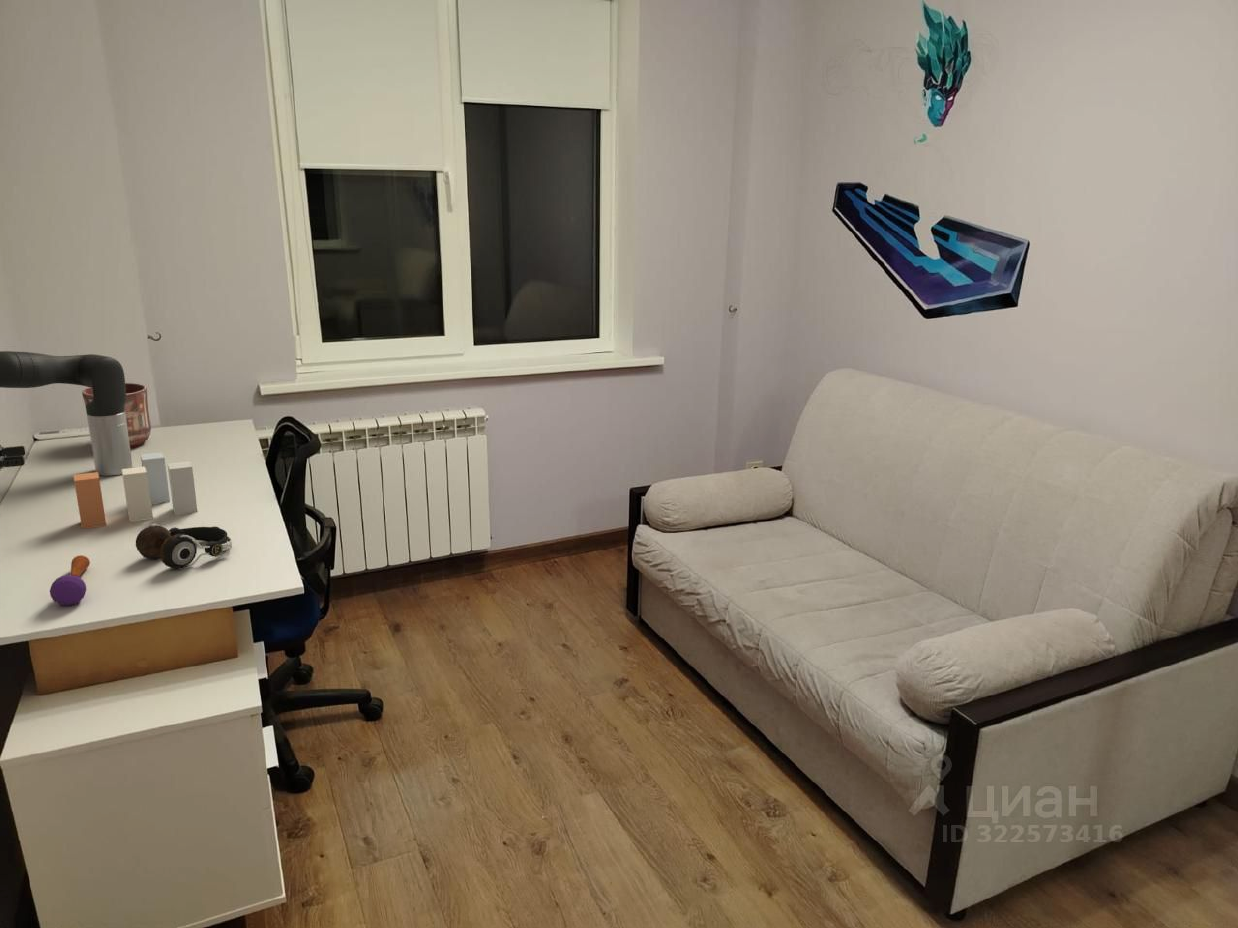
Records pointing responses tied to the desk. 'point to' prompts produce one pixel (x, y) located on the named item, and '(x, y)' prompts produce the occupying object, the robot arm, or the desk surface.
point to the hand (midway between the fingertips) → (24, 455)
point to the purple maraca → (70, 584)
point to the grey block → (182, 487)
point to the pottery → (132, 412)
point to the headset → (181, 544)
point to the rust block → (89, 500)
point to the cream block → (137, 493)
